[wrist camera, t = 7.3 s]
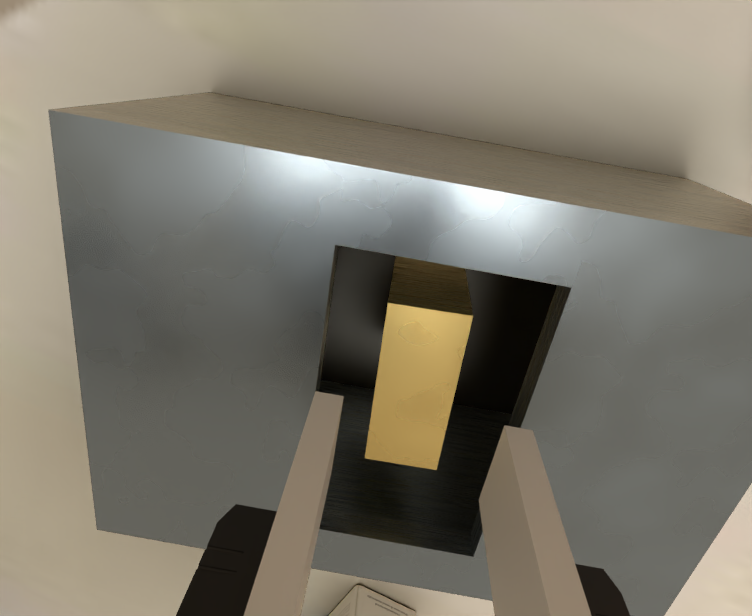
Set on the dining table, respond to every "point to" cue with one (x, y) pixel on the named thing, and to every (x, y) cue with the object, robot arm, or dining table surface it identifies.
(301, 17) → the dining table surface
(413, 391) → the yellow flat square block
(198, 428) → the coin box
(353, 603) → the ink box
